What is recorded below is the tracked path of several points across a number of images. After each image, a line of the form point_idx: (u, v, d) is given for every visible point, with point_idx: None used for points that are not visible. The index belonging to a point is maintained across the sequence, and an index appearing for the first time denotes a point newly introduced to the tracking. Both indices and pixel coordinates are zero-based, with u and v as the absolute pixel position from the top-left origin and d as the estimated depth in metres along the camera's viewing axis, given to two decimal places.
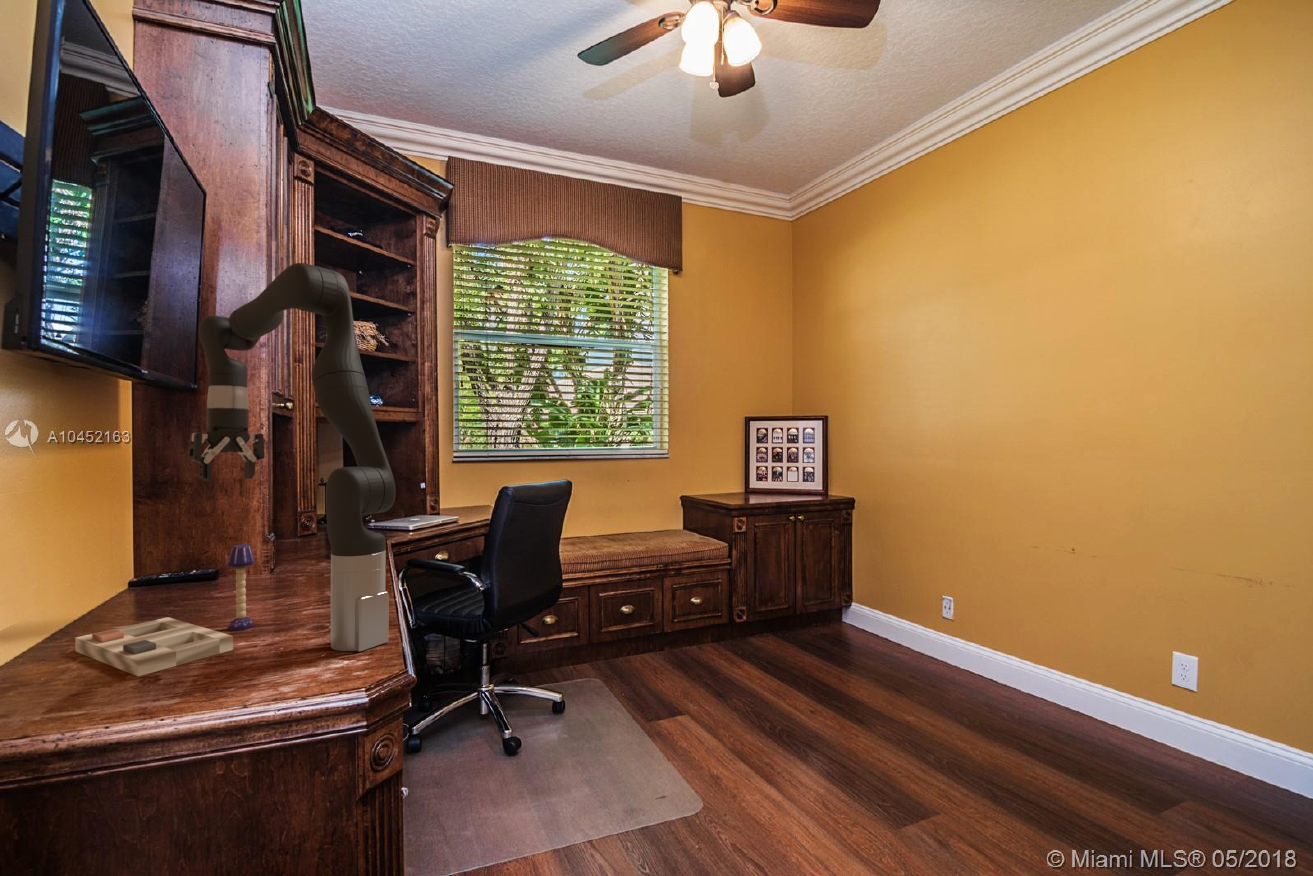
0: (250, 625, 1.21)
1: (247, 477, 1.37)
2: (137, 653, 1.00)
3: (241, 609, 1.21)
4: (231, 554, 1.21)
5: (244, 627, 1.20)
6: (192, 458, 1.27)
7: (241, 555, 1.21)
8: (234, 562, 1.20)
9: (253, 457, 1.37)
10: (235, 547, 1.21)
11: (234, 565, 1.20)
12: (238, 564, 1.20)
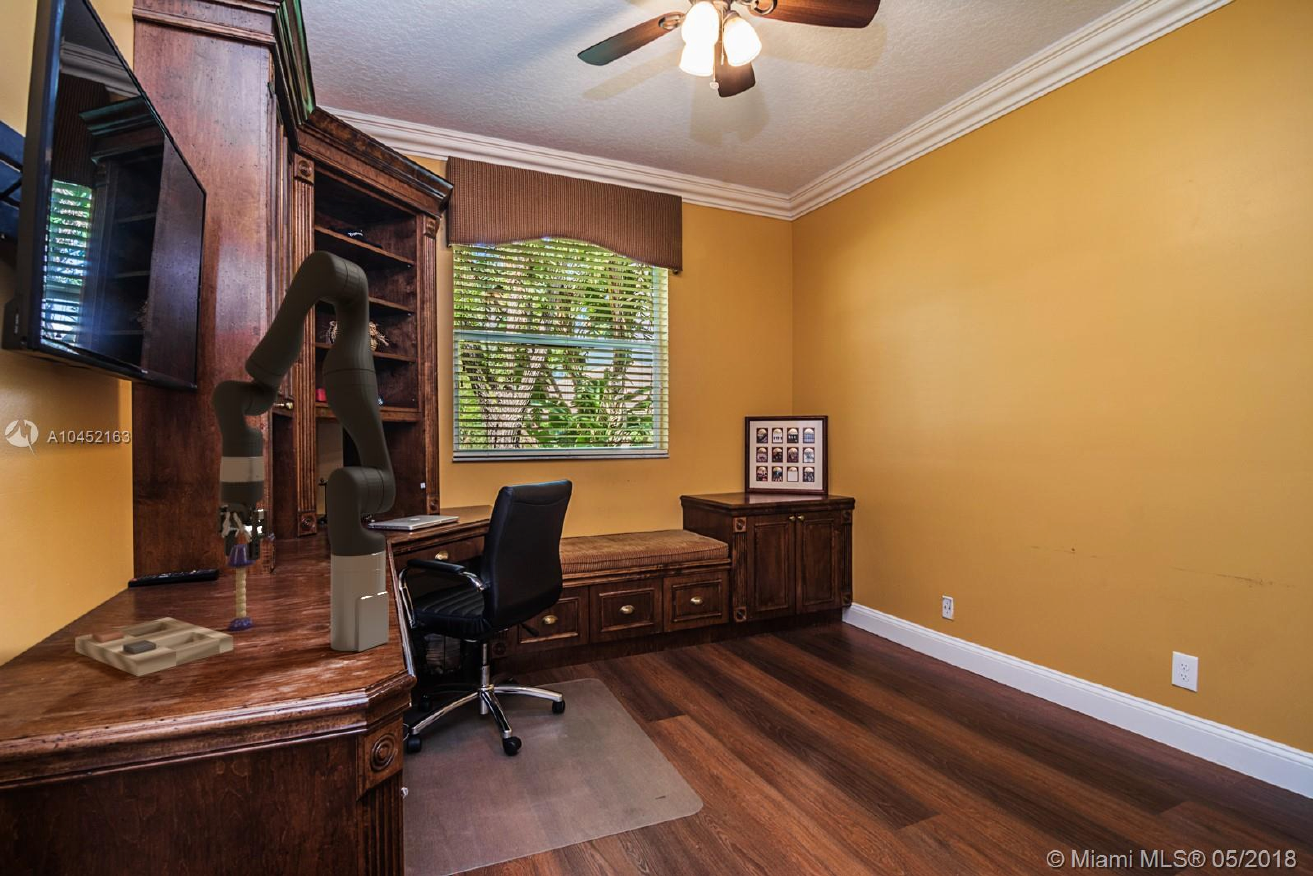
0: (250, 625, 1.21)
1: None
2: (137, 653, 1.00)
3: (241, 609, 1.21)
4: (231, 554, 1.21)
5: (244, 627, 1.20)
6: (263, 536, 1.19)
7: (241, 555, 1.21)
8: (234, 562, 1.20)
9: None
10: (235, 547, 1.21)
11: (234, 565, 1.20)
12: (238, 564, 1.20)
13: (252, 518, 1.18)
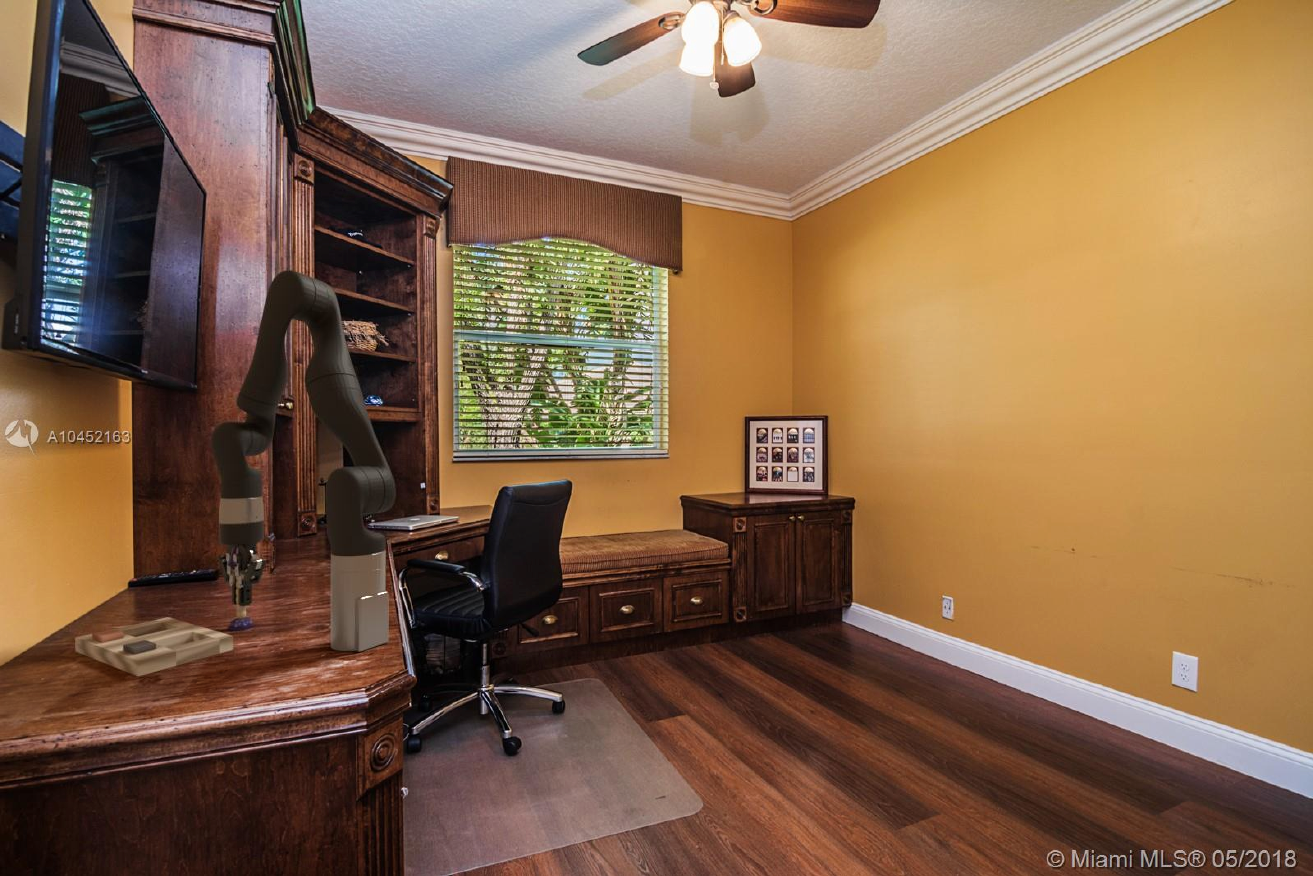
0: (250, 625, 1.21)
1: None
2: (137, 653, 1.00)
3: (242, 609, 1.21)
4: (232, 554, 1.20)
5: (244, 627, 1.20)
6: (254, 583, 1.20)
7: None
8: None
9: None
10: (236, 547, 1.21)
11: (235, 565, 1.20)
12: None
13: (249, 567, 1.18)
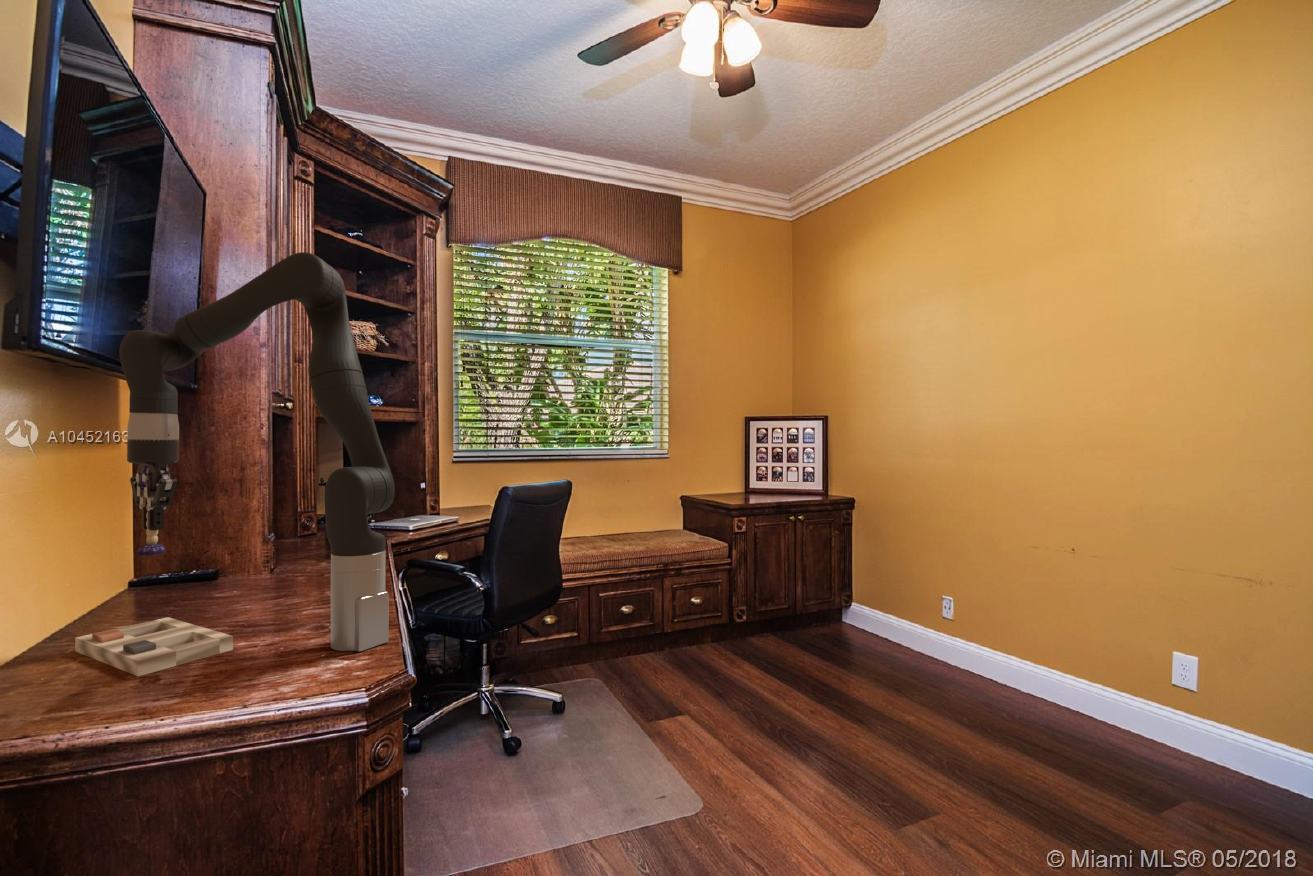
0: (161, 551, 1.13)
1: None
2: (137, 653, 1.00)
3: (152, 533, 1.12)
4: (142, 474, 1.12)
5: (154, 553, 1.12)
6: (165, 505, 1.12)
7: None
8: None
9: None
10: (146, 466, 1.12)
11: (144, 485, 1.11)
12: None
13: (158, 487, 1.10)
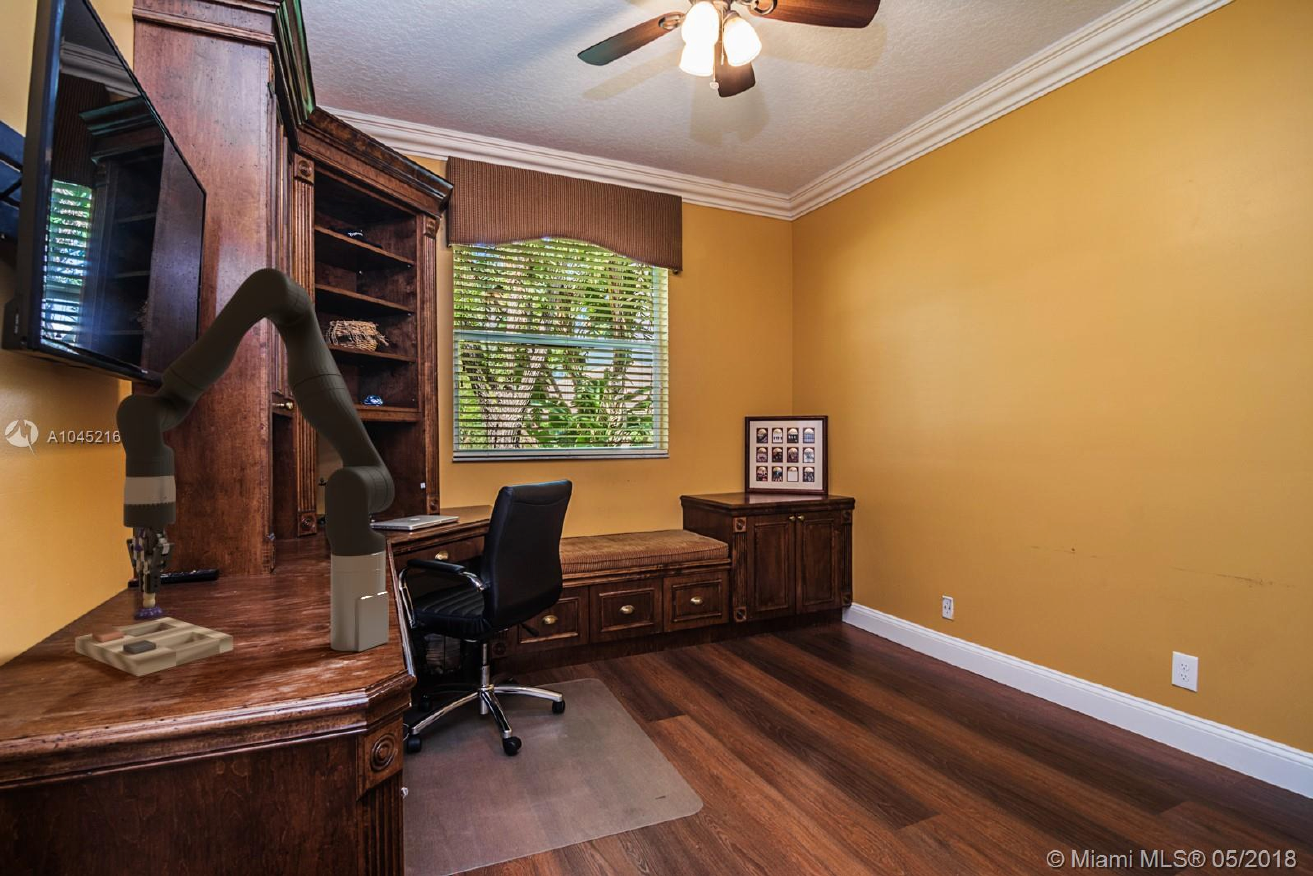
0: (158, 614, 1.12)
1: None
2: (137, 653, 1.00)
3: (149, 597, 1.12)
4: (138, 537, 1.11)
5: (151, 617, 1.11)
6: (162, 569, 1.11)
7: None
8: None
9: None
10: (143, 530, 1.11)
11: (141, 549, 1.10)
12: None
13: (155, 551, 1.09)
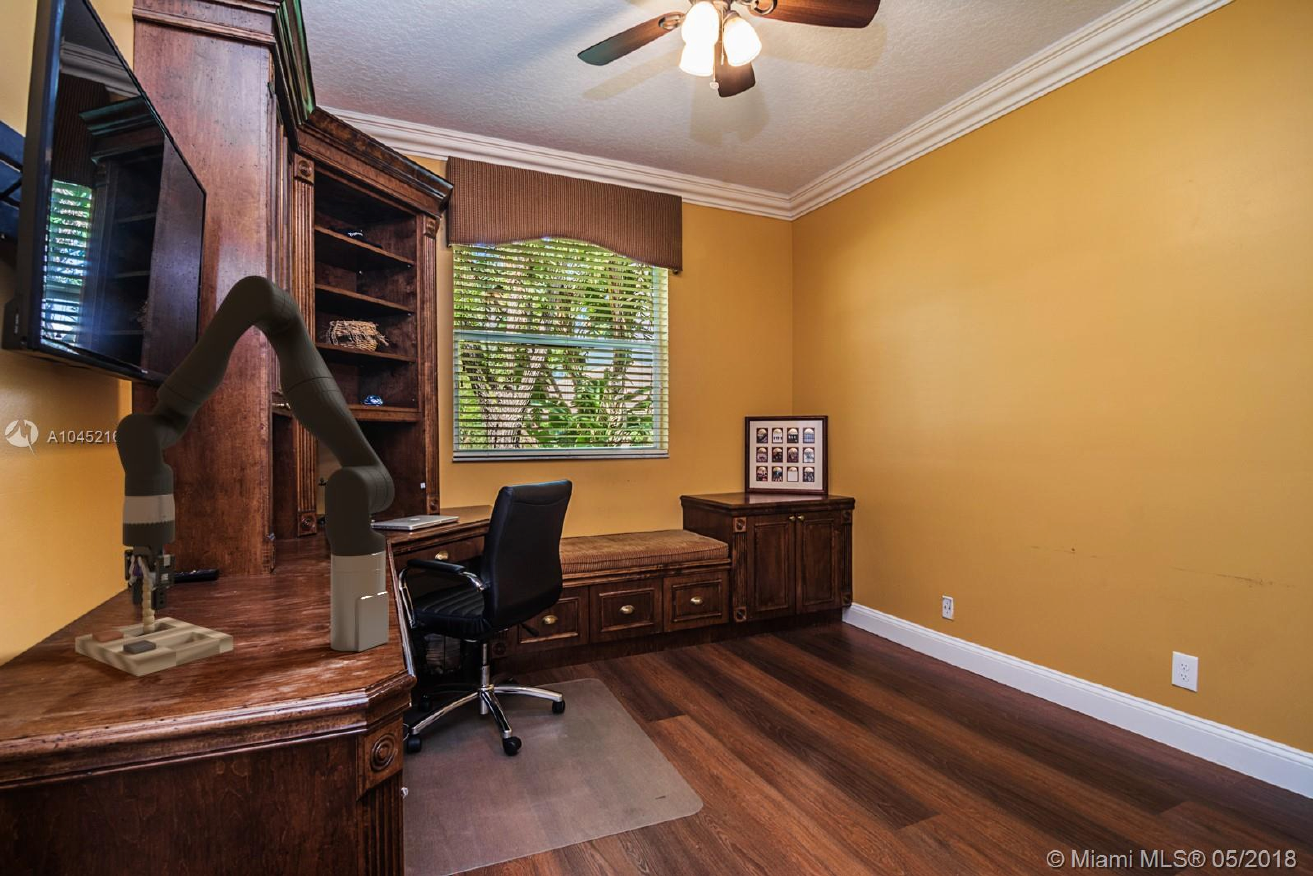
0: None
1: (142, 602, 1.14)
2: (137, 653, 1.00)
3: (148, 622, 1.12)
4: (137, 563, 1.12)
5: None
6: (168, 584, 1.10)
7: None
8: (140, 571, 1.11)
9: None
10: None
11: (140, 574, 1.11)
12: None
13: (156, 564, 1.09)
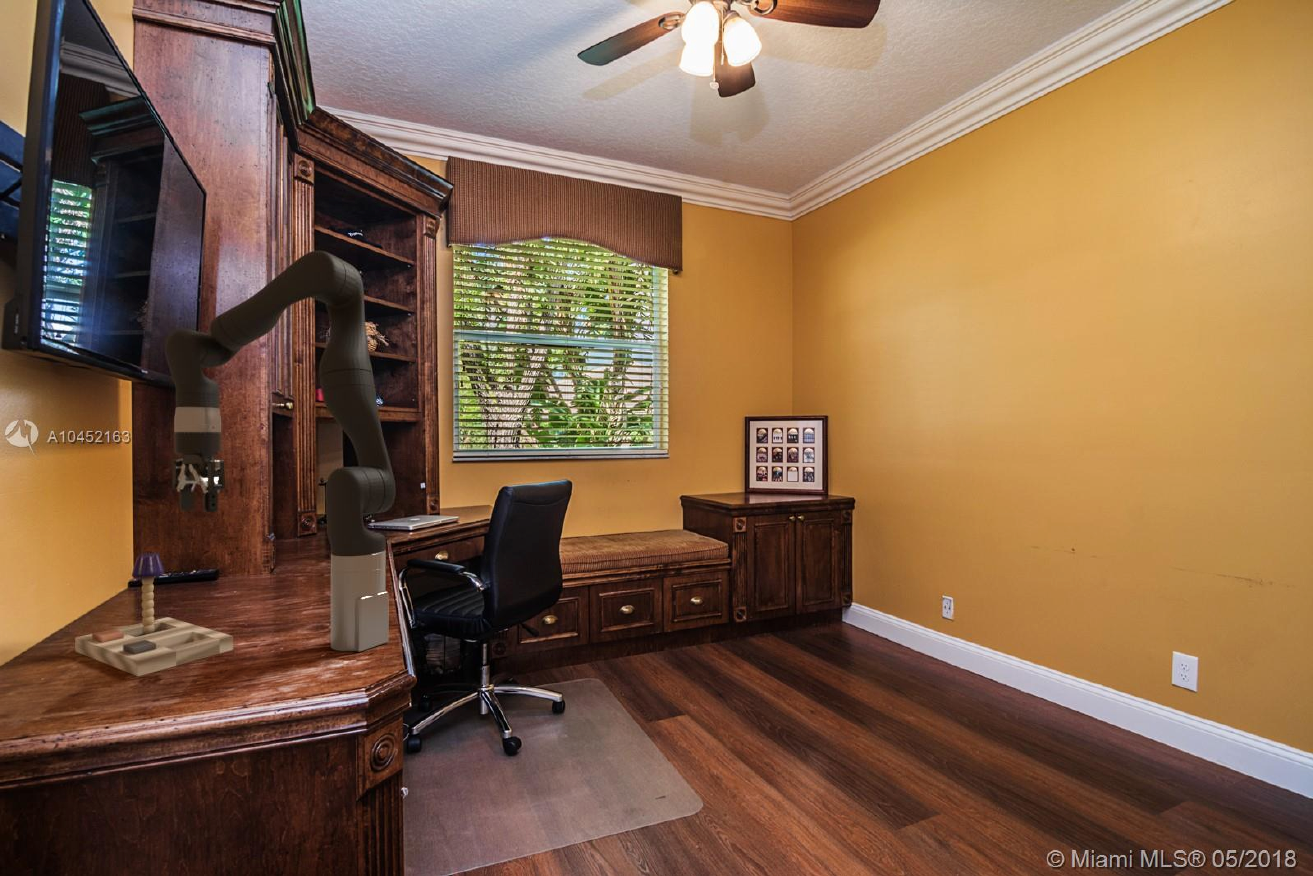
0: None
1: (189, 508, 1.22)
2: (137, 653, 1.00)
3: (148, 623, 1.12)
4: (136, 564, 1.11)
5: None
6: (220, 487, 1.18)
7: (147, 564, 1.11)
8: (138, 572, 1.10)
9: None
10: (140, 556, 1.11)
11: (138, 576, 1.10)
12: (142, 574, 1.10)
13: (208, 468, 1.17)
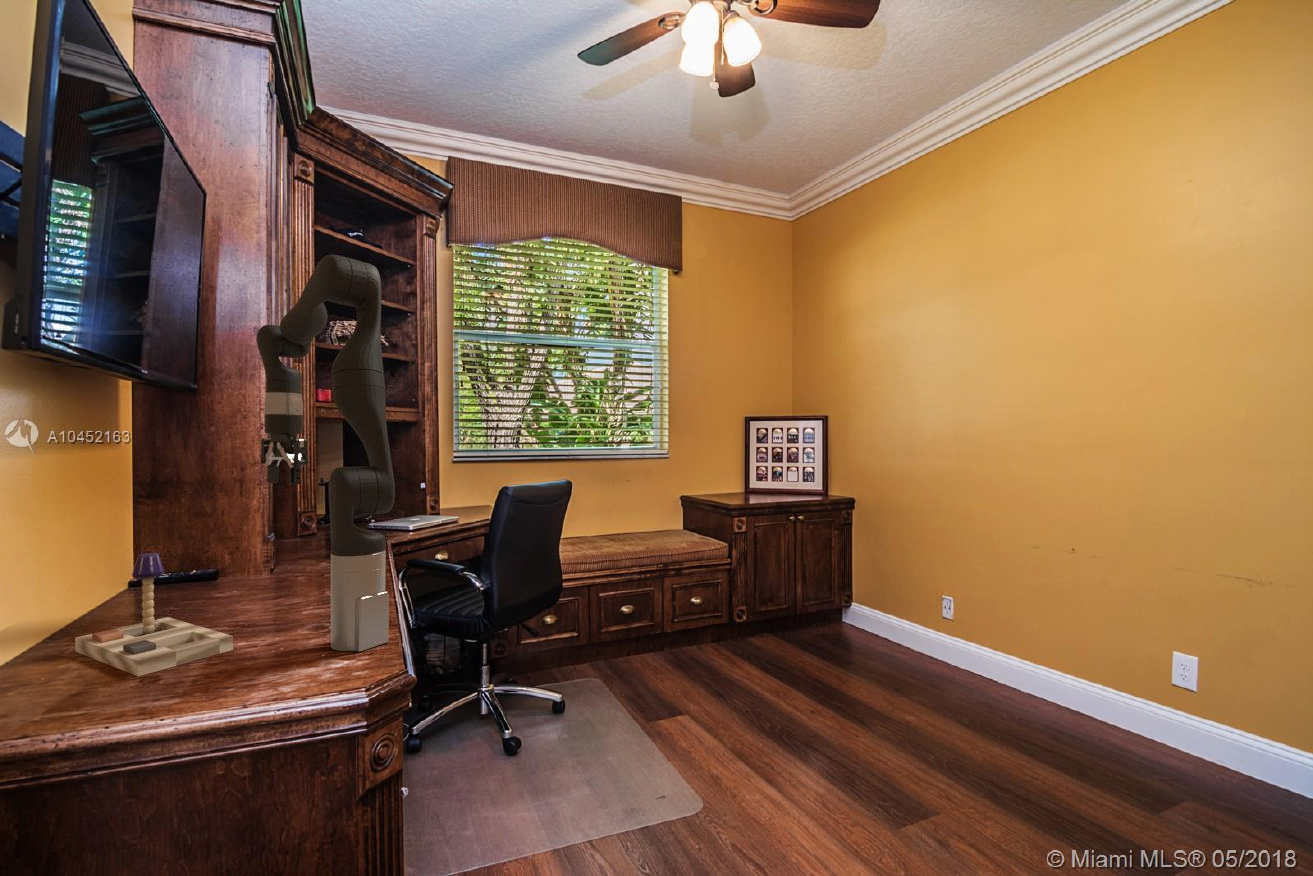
0: None
1: (275, 481, 1.39)
2: (137, 653, 1.00)
3: (148, 623, 1.12)
4: (136, 564, 1.11)
5: None
6: (303, 462, 1.34)
7: (147, 564, 1.11)
8: (139, 572, 1.11)
9: None
10: (141, 556, 1.11)
11: (139, 576, 1.10)
12: (143, 574, 1.11)
13: (294, 446, 1.33)
